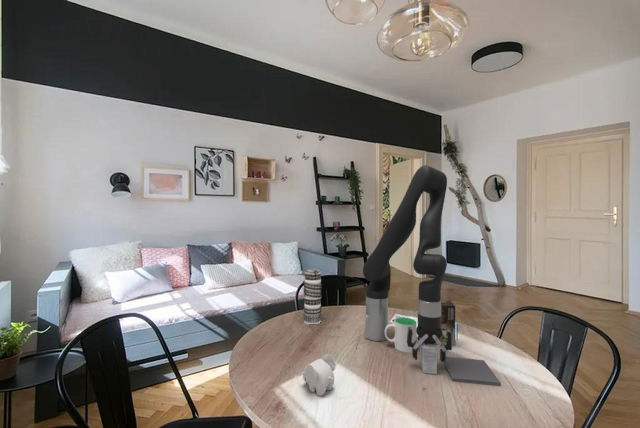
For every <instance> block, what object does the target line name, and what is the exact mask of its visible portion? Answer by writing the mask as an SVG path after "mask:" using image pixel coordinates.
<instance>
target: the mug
mask: <svg viewBox="0 0 640 428" xmlns="http://www.w3.org/2000/svg"><path fill="white" fill-rule="evenodd" d="M390 327H392V328H393V329H394V336H393V338H389V336H388V337H387V334H386V331H387V329H388V330H389V328H390ZM408 327H411V328H412V329H417V320H415V319H413V318H410V317H405V316H403V317H396V318H395V319H394V323H388V325H387V326H386V328H385V337H386V338H387V339H386V340H387V341H388V342H391V343H394V348H395V349H396V350H397V351H398V352H399V351H400V352H403V353H412V347H408V344H407V334H408ZM416 338H417V333H415V334H414V335H413V336H412V343H413V342H414V341H415V340H416Z"/></svg>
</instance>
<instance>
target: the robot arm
mask: <svg viewBox="0 0 640 428" xmlns="http://www.w3.org/2000/svg"><path fill="white" fill-rule="evenodd" d="M447 186H448V177H447V174H445V172H443V171H441V170H439V169H436V168H434V167H432V166H429V165H426V164H425V165H422V166H420V167H419V168H418V169H417V170H416V171H415V173H414V174H413V176H412V178H411V181H410V183H409V185H408V187H407V190H406V191H405V194H404V196H403V198H402V200H401V202H400V204H399V205H398V208H397V209H396V211H395V213H394V214H393V216H392V217H391V220H390V221H389V222H388V225H387V227H386V228H385V231H384V232H383V235H382V236H381V238H380V239H379V241H378V243H377V245H376V246H375V248H374V250H373V251H372V252H371V253H370V255H369V257H368V258H367V259H366V261H365V262H364V264H363V266H362V267H363V268H362V274H363V277H364V278H365V279H366V280H367V281H368V282H369V284H368V286H367V288H366V289H365V332H364V333H365V335H364V338H365V339H367V340H370V341H375V342H383V341H386V340H387V338H386V337H385V328H386V326H387V325H388V324H389V292H390V290H391V275H392V272H391V271H392V269H391V265H390V263H389V261H390V259H391V258H392V257H393V255H394V254H395V253H397V251H398V250H399V249H401V247H402V246H403V245H404V244H405V243H406V242H407V241H408V239H409V238H410V236H411V234H412V233H413V231H414V230H415V227H416V225H417V205H418V202H419V200H420V199H421V196H422V195H423V193H424V192H425V193H426V194H428V195H429V204H428V205H429V206H428V208H427V209H426V211H425V213H424V215H423V216H422V218H421V219H420V224H419V238H418V239H419V242H418V247H417V251H416V253H415V257H414V259H413V262H412V263H413V265H412V267H413V269H414V271H415V273H416V274H418V275H426V276H434V277H433V278H432V279H428V280H423V281H420V282H419V283H418V301H417V307H416V308H417V325H416V329H412V328H411V327H408V334H407V344H408V347H412V352H411V353H412V358H413V359H414V360H416V361H418V348H419V347H420V345H421V344H422V343H423V342H425V343H432V344H434V343H436V342H437V344H438V345H437V346H439V347H440V349H439V360H440V362H441V363H444V361H445V360H446V357H447V356H446V355H447V351H452V349H453V345H452V338H451V333H450V331H449V330H446V331H441V301H442V300H441V295H442V294H441V293H442V290H441V289H442V283H443V280H444V276H445V273H446V270H447V267H448V266H447V265H448V263H447V259H446V257H445V256H444V255H443V254H438V253H436V254H435V253H426V252H427V251H428V250H429V251H430V250H433V249H437V248H439V247H441V244H442V216H443V209H444V204H445V198H446V192H447ZM388 330H389V328H388V329H387V331H386V334H387V337H388V338H389V336H388V335H389V333H388V332H389V331H388ZM415 333H416V335H417V336H416V340H415V341H414V342H413V343H412V336H413V335H414V334H415ZM442 334H443V335H444V336H445V338H446V345H443V343H442V342H441V341H440V337H441V336H442Z"/></svg>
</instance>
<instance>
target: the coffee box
mask: <svg viewBox="0 0 640 428" xmlns="http://www.w3.org/2000/svg"><path fill="white" fill-rule="evenodd" d="M440 301H441V331H446V330H449V331H450V333H451V338H452V346H456V305H455V304H454V303H453V302H452V300H440ZM440 341H441V342H442V343H443V345H446V338H445V336H444V335H443V334H442V336H441V337H440ZM435 345H436V346H439V345H438V344H437V342H436V343H435Z"/></svg>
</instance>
